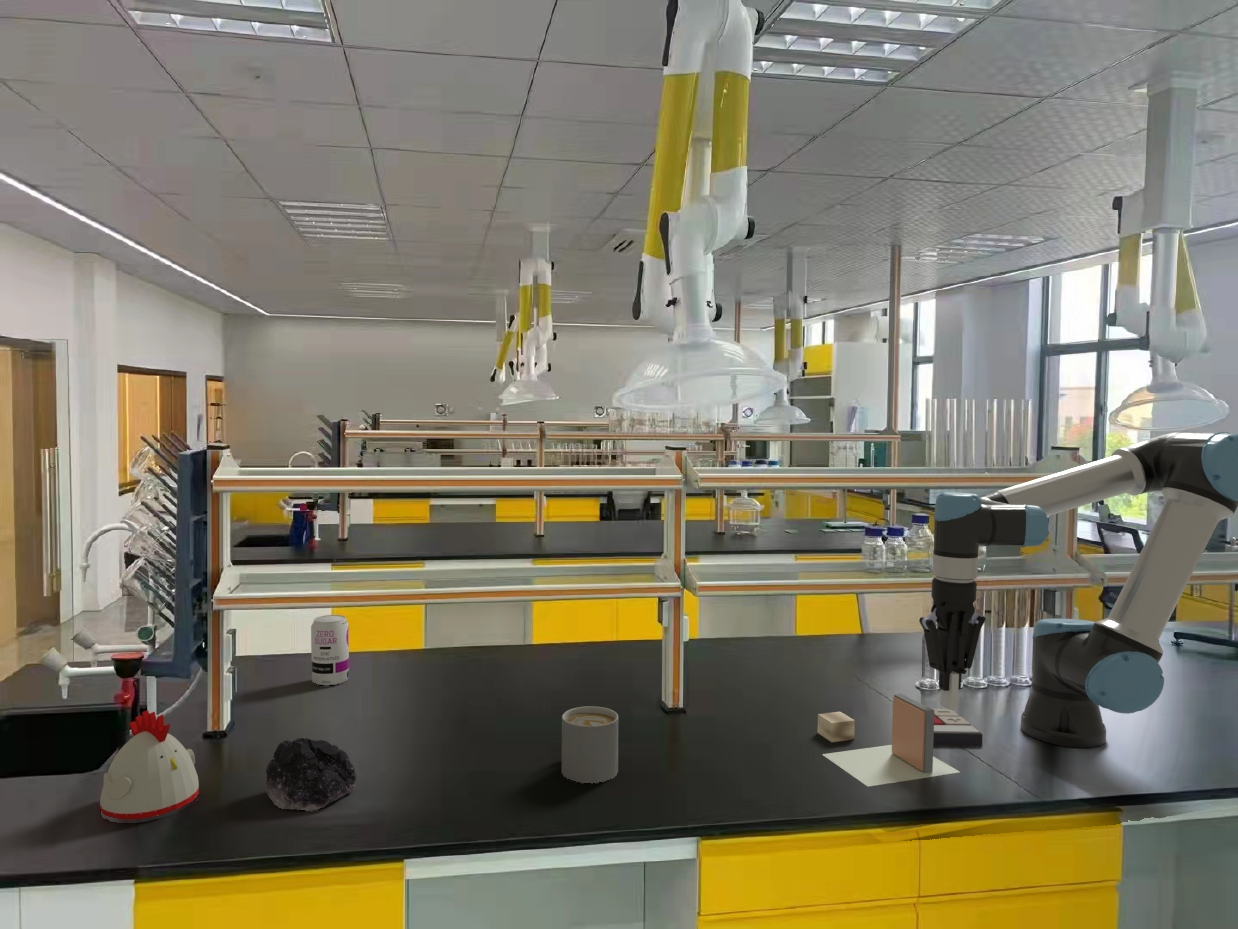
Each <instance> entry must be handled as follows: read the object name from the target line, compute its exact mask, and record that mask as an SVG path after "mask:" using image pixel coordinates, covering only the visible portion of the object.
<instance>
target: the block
mask: <svg viewBox="0 0 1238 929" xmlns="http://www.w3.org/2000/svg"><path fill="white" fill-rule="evenodd" d="M855 723H856V720H855V719H854V718H851V717H850V716H848V715H847V714H845V713H843V712H841V711H834V712H824V713H818V714H817V734H818V735H820V736H822V737H823V738H824V739H826V740H828V741H829V742H830V743H836V742H837V743H838V742H844V741H852V740H855V732H856V731H855V730H856V729H855V725H856V724H855Z"/></svg>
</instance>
